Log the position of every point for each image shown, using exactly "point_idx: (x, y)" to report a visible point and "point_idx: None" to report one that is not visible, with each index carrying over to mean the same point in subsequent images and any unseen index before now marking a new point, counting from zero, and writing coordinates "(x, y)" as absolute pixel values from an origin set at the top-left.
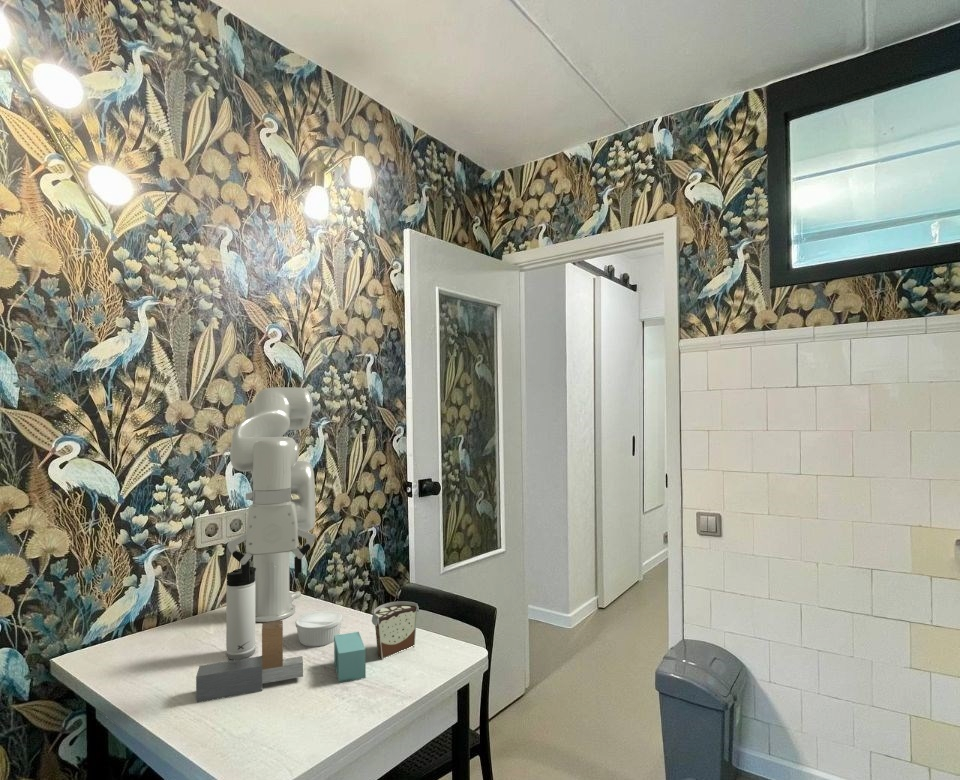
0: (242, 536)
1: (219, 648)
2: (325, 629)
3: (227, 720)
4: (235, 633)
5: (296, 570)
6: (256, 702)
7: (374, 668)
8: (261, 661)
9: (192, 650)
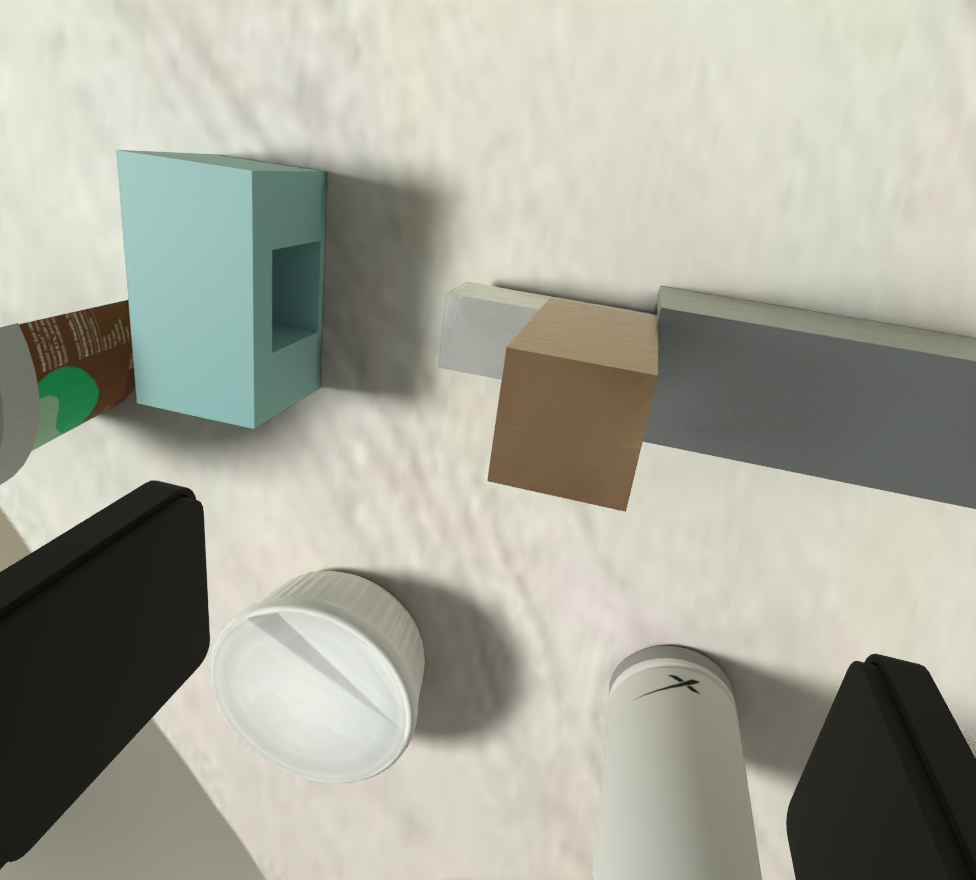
0: None
1: None
2: (298, 596)
3: (883, 51)
4: (713, 745)
5: (99, 536)
6: (708, 178)
7: None
8: None
9: None
